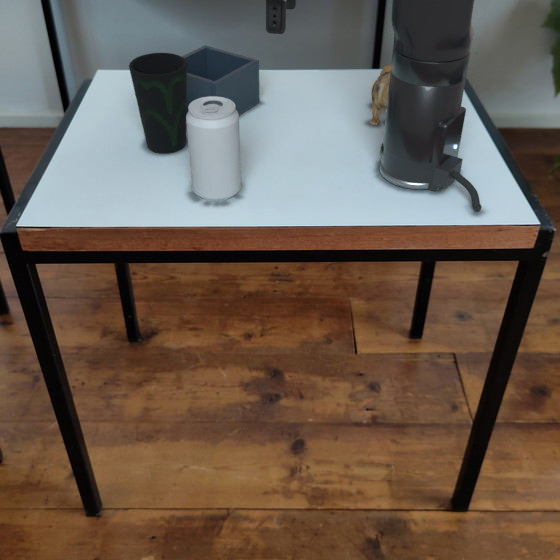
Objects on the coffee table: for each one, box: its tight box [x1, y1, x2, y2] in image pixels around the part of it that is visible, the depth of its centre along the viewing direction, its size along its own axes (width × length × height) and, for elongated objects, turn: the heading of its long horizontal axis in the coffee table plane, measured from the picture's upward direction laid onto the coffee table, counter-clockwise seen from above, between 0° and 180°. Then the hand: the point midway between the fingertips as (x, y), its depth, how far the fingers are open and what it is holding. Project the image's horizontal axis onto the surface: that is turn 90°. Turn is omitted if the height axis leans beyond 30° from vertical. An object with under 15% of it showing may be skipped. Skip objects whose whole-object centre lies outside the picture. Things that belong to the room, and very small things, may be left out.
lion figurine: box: [369, 63, 392, 126], centre depth 109 cm, size 15×5×9 cm, turn 176°
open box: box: [181, 44, 261, 116], centre depth 111 cm, size 11×11×7 cm
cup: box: [128, 52, 187, 155], centre depth 100 cm, size 8×8×12 cm
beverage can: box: [186, 96, 242, 202], centre depth 91 cm, size 6×6×12 cm
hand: (281, 19), depth 88 cm, fingers open, 8 cm apart
